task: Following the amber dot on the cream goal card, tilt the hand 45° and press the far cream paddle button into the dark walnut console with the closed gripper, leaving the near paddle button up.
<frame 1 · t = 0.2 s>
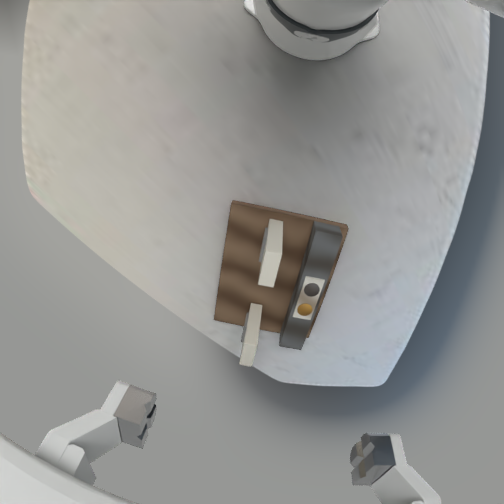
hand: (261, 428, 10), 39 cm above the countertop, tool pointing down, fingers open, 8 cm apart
console: (275, 274, 53), on the countertop
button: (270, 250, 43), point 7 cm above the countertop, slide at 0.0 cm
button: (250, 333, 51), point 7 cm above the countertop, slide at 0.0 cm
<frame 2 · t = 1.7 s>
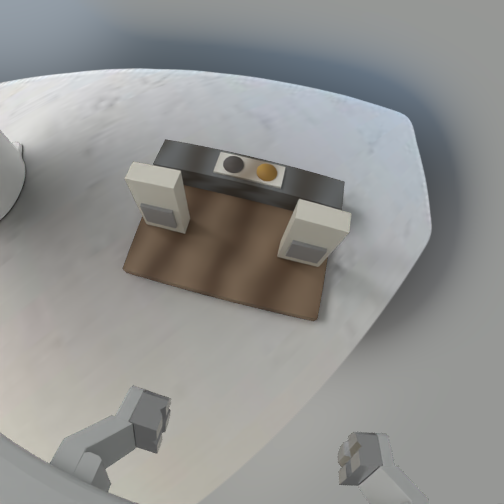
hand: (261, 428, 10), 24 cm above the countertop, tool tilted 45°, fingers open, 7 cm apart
console: (236, 228, 39), on the countertop
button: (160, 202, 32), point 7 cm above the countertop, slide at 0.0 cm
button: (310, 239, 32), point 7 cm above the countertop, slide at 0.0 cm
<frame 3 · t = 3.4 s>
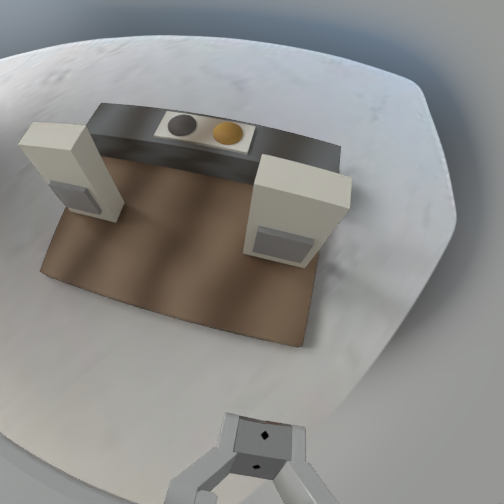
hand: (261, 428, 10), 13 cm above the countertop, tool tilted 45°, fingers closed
console: (189, 214, 28), on the countertop
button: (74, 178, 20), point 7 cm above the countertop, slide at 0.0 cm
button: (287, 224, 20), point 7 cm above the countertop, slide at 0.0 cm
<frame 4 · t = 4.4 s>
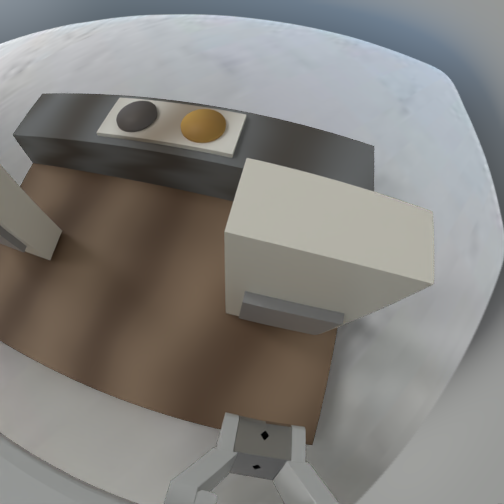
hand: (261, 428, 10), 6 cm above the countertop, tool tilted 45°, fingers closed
console: (151, 247, 19), on the countertop
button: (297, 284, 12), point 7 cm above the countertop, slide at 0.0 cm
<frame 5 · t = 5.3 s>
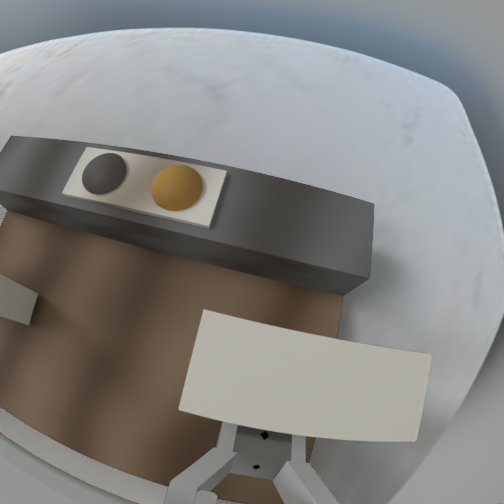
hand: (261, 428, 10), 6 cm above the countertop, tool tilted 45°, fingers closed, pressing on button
console: (130, 311, 17), on the countertop
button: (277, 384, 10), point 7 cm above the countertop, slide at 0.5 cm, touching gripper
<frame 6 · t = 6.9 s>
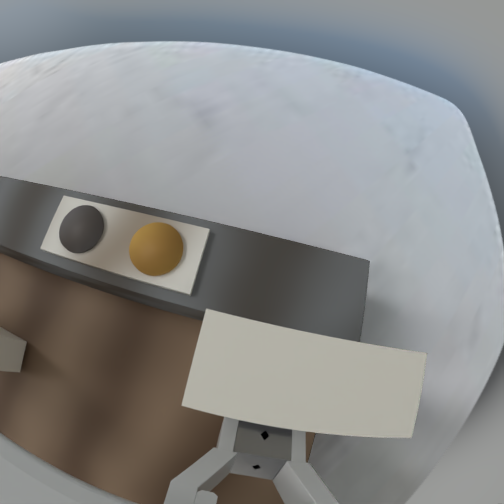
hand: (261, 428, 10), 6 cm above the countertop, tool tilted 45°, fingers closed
console: (118, 360, 16), on the countertop
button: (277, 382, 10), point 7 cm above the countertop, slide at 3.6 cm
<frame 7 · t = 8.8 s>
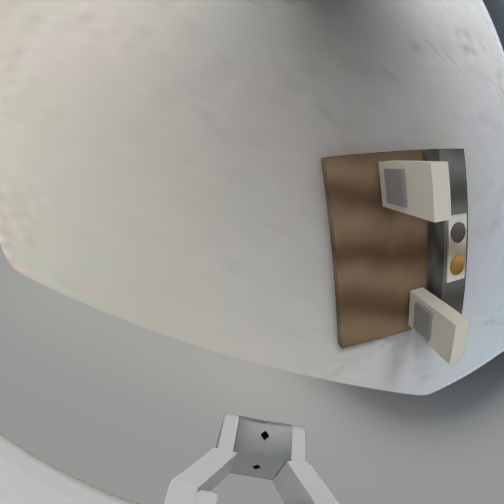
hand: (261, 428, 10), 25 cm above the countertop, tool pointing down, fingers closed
console: (399, 245, 36), on the countertop
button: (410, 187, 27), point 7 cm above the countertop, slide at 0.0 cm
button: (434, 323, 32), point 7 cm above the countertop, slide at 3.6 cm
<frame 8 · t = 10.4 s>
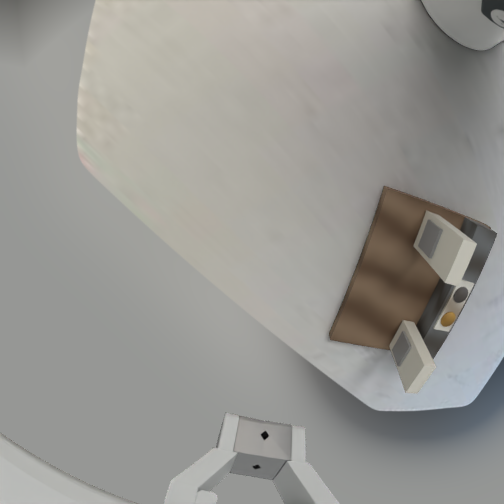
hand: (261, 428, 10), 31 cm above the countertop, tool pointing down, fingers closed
console: (411, 280, 41), on the countertop
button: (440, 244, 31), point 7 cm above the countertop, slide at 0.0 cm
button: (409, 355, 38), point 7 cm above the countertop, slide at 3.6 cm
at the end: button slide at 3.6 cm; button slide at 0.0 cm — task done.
